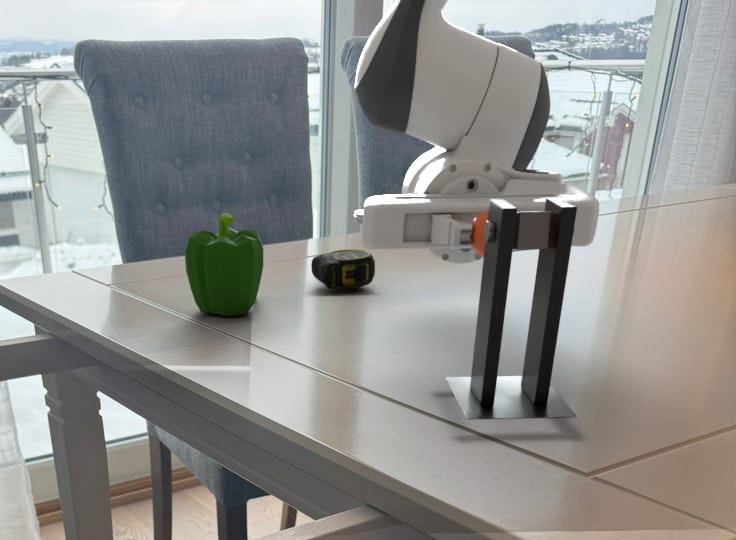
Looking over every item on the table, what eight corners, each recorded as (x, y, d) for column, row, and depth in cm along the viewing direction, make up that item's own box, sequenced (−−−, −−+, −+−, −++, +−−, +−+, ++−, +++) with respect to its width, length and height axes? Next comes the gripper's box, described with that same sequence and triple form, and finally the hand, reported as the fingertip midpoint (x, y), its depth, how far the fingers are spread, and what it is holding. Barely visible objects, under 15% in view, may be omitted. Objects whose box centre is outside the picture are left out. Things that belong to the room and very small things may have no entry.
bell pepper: (194, 302, 104) (189, 205, 99) (267, 303, 103) (266, 204, 98) (181, 321, 97) (174, 218, 92) (259, 322, 96) (257, 217, 91)
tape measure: (309, 283, 111) (309, 250, 109) (365, 280, 112) (366, 246, 110) (323, 296, 106) (323, 261, 104) (381, 292, 107) (382, 257, 104)
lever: (463, 257, 79) (466, 210, 77) (505, 256, 79) (509, 209, 77) (505, 259, 65) (510, 202, 63) (557, 258, 65) (563, 201, 63)
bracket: (443, 391, 77) (461, 194, 69) (541, 389, 76) (570, 191, 68) (465, 434, 68) (489, 215, 60) (575, 433, 68) (613, 212, 60)
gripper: (353, 175, 86) (367, 195, 74) (575, 171, 85) (625, 191, 74) (350, 248, 89) (363, 279, 77) (564, 244, 89) (610, 275, 77)
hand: (493, 236), depth 75 cm, fingers closed on lever, 3 cm apart
